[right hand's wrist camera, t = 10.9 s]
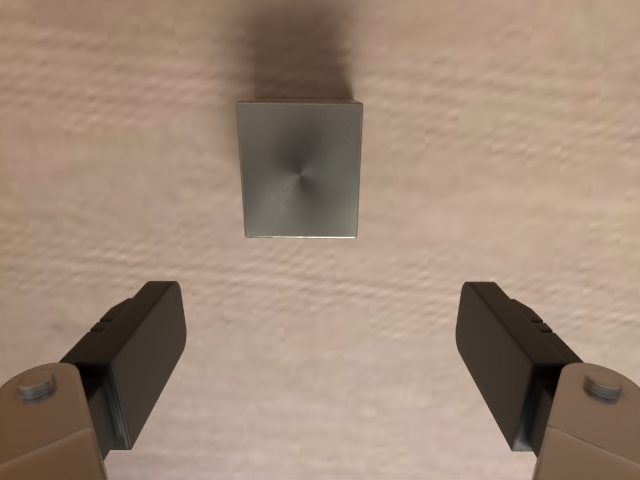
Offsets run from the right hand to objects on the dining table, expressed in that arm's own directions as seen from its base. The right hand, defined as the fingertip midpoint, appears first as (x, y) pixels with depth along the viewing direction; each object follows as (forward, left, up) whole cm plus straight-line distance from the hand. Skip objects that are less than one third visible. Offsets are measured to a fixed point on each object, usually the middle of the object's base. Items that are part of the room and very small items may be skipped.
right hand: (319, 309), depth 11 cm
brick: (+1, +3, -9) cm, 9 cm away
